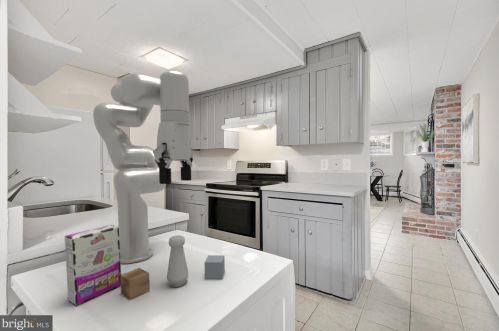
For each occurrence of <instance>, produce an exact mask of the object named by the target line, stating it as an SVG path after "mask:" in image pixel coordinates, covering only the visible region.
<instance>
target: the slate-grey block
mask: <svg viewBox="0 0 499 331" xmlns="http://www.w3.org/2000/svg"><path fill="white" fill-rule="evenodd" d="M225 259H226V258H225V255H223V254H222V255H219V254H218V255H216V254H215V255H210V254H209V255H207V257H206V259H205V261H204V280H205V281H206V280H213V281H214V280H215V281H216V280H223V279H224V275H225V272H226V270H225V269H226V268H225V267H226V266H225V264H226V263H225V262H226V261H225Z"/></svg>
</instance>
